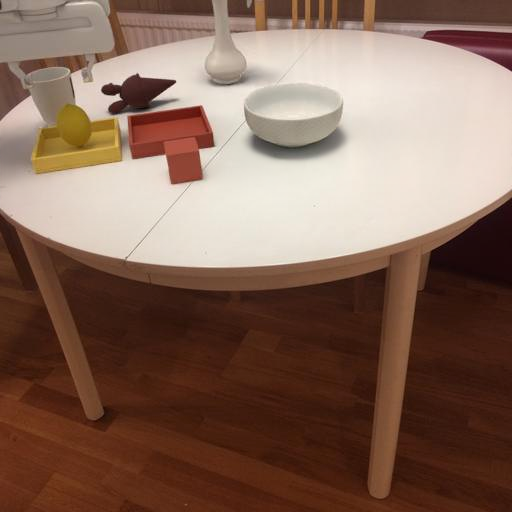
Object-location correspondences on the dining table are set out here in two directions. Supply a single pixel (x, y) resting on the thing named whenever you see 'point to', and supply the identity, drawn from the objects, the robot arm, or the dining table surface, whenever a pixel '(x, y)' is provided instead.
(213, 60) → the flower vase
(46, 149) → the yellow tray
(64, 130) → the lemon
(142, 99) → the icecream
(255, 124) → the cereal bowl
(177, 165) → the red block
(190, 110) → the red tray
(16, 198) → the dining table surface
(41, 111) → the cup
